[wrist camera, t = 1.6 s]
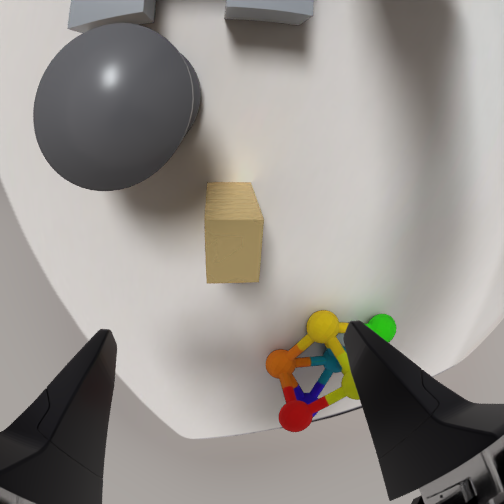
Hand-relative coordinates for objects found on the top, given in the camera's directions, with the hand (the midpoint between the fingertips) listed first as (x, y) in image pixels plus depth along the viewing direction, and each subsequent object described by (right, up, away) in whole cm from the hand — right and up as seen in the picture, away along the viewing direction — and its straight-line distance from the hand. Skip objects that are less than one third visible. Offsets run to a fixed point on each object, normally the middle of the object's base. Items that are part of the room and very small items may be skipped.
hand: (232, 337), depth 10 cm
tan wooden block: (-1, +6, +11) cm, 12 cm away
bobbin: (-6, +13, +6) cm, 15 cm away
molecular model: (+8, -6, +20) cm, 22 cm away
